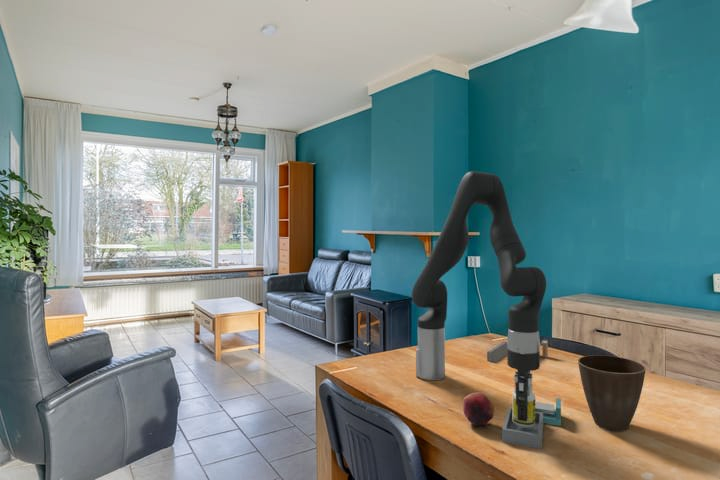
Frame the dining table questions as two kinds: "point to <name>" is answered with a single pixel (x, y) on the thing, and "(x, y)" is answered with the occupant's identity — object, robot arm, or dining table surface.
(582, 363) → the plant pot
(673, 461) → the dining table surface
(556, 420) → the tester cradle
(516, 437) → the trough
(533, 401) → the supplement bottle
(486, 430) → the dining table surface
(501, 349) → the skate ramp
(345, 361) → the dining table surface
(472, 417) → the fruit
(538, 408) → the plate
